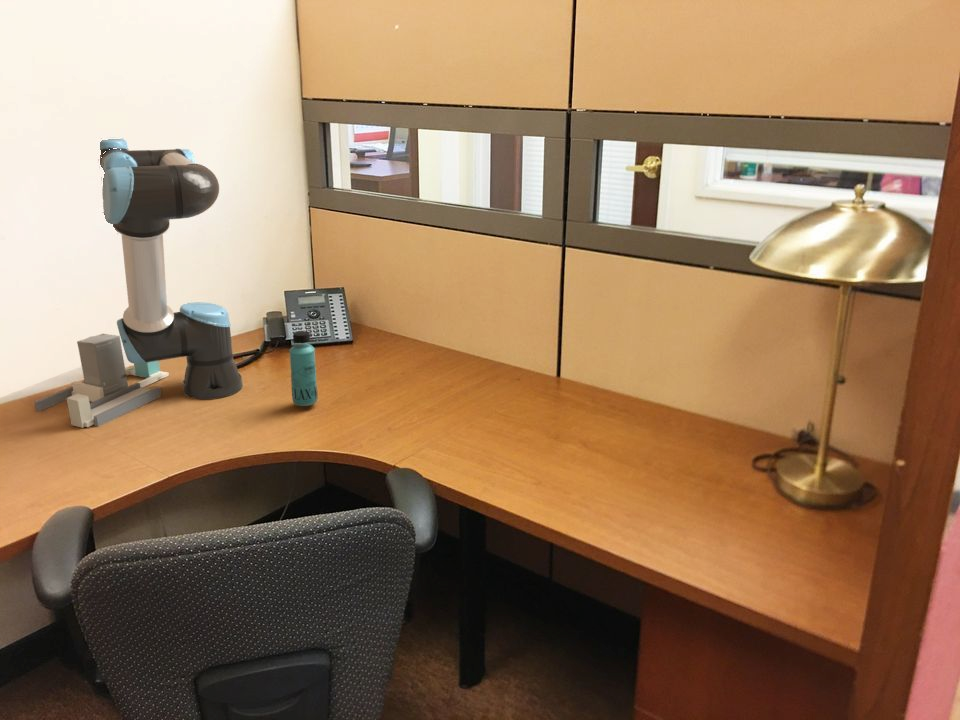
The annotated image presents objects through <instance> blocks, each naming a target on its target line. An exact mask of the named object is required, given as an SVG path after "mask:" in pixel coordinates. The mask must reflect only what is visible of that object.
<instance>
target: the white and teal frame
mask: <svg viewBox="0 0 960 720" xmlns="http://www.w3.org/2000/svg"><path fill="white" fill-rule="evenodd" d="M133 365H134V366H129V367H127V368H125V371H126V376H128V375H132V376H135V377H141V378H145V379H143V380H140V381H139V382H137V383H140V387H142V388H145V387H147V386H149V385H151V384H153V383H155V382H157V381H160V380H162V379H165V378H166V377H168V376H170V375H169V374H170V373H169V372H167V371H162V370H161V369H160V361H154V362H149V363H137V364H134V363H133ZM81 382H82V381H72V382H71V386H73V391H72V392H71V393H72V396H73V395H75V394H81V395H85V396H88V397H89V402H90V403H92V402H94V401H96V400H98V399H101V398H103V397H104V392H103V387H98V386H94V385H90V384H85V383H81Z"/></svg>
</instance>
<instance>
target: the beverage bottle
mask: <svg viewBox="0 0 960 720" xmlns="http://www.w3.org/2000/svg"><path fill="white" fill-rule="evenodd" d="M292 336H293V337H292V340H293V343H295V344H294V345H293V346H291V347H290V348H289V359H290V360H289V361H290V363H289V364H290V385H291V397H292V399H291V400H292V402H293V404H294V405H296V406H300V407H304V406H312V405H314V404H316V403H317V401H318V398H319V397H318V391H319V390H318V384H317V368H316V367H317V364H316V354H315V353H316V352H315V351H316V348H315V347H314V346H313V345H312V344H310V343H309V342H310V341H311V337H310V333H309V331H306V330H299V331H296V332H293V335H292Z"/></svg>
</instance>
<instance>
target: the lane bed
mask: <svg viewBox="0 0 960 720" xmlns="http://www.w3.org/2000/svg"><path fill="white" fill-rule="evenodd" d="M80 382H81V383H85V381H84V380H83V381H80ZM138 388H140V383H138V382H135V383H132V384H131V385H128V387H126V388H123V389H121V390H119V391H117V392H114V393H112V394H110V395H107V396H105V397H103V398H101V399H98V400H96V401H94V402H89V403H90V408H91V409H93V408H96V407H98V406H100V405H102V404H105V403H107V402H109V401H111V400H113V399H116V398H118V397H120V396H122V395H125V394H127V393H129V392H131V391H133V390H136V389H138ZM72 391H73V386H72V385H71V386H69V387H66V388H64V389H62V390H59V391H57V392H54V393H52V394H49V395H47V396H45V397H42V398H39V399H37V400H35V401H34V407H35V411H36V412H42V411H44V410H47V409H49V408H50V407H52V406H56V405H57V404H60V403H62V402H65V401H67V398H68V397H70V396H72V393H71V392H72ZM161 392H162V391H161V388H160V387H159V386H156V387H154V388H152V389H151V390H150V391H147V392H145V393H143V394H141V395H139V396H137V397H134V398H132V399H130V400H128V401H126V402H124V403H121V404H119V405H117V406H115V407H113V408H111V409H108V410H106V411H104V412H102V413H100V414H97V415H95V416H94V421H95V424H94V426H95V427H101V426H103V425H104V424H107V423H109V422H111V421H113V420H115V419H117V418H119V417H121V416H123V415H125V414H128V413H130V412H131V411H134V410H135V409H138V408H140V407H142V406H144V405H146V404H148V403H151V402H153V401H155V400H156V399H158V398H161V397H162V393H161Z"/></svg>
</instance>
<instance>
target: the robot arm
mask: <svg viewBox="0 0 960 720" xmlns="http://www.w3.org/2000/svg"><path fill="white" fill-rule="evenodd" d="M113 148H117V149H113ZM109 149H110V150H109ZM120 149H121V150H120ZM100 150H101V155H100V165H101V167H102V168H103V170H104V172H105V174H104V178H103V186H102V188H101V189H102V190H101V191H102V192H101V193H102V196H101V197H102V208H103V213H104V215H105V219H106V221H107V222H108V223H110V224H113V227H114V228H115V230H116V231H117V232H118V233H119V234H120V235H121V243H122V253H123V261H124V262H123V263H124V272H125V281H126V282H125V284H126V292H127V303H128V307H127V308H126V309H125V310H124V311H123V314H122V318H119V319H117V321H116V325H117V329H118V333H119V336H120V341H121V345H122V348H123V350H124V353H125V357H126V360H127V361H128V362H129V363H131V364H133V365H134V364H137V363H149V362H154V361H159V362H160V361H165V360H171V359H178V358H185V357H186V368H185V372H184V380H182V381H183V382H182V391H183V394H184V395H185V396H187V397H189V398H192V399H196V400H197V399H198V400H213V399H214V400H215V399H220V398H225V397H228V396H231V395H234V394H236V393H238V392H240V390H242V388H243V387H244V386H243V377H242V375H241V374H240V373H239V370H238V366H237V364H236V362H235V360H234V353H233V345H232V334H231V321H230V317H229V312H228V310H227V309H226V308H225V307H223V306H222V305H219V304H216V303H211V302H189V303H188V302H187V303H183V304H182V305H180V308H179V311H178V312H177V311H176V312H174V310H173V309H172V308H171V306H169V305H168V301H167V285H166V283H167V282H166V269H165V268H166V267H165V249H164V234H165V233H167V231H168V230H169V228H170V220H180V219H182V220H183V219H188V218H189V219H190V218H193V217H197V216H199V215H200V214H203V213H205V212H206V211H207V210H209V209H210V208H211V207H212V206H213V205H214V204H215V203H216V201H217V199H218V197H219V193H220V184H219V180H218V178H217V176H216V175H215V173H214V172H213V171H212V170H211V169H209V168H208V167H207V166H204V165H202V164H200V163H196V160H195V157H194V155H193V152H192V150H190V149H186V148H175V149H152V150H151V149H147V150H146V149H144V150H142V149H141V150H138V149H137V150H129V146H128V142H127V140H126V139H124V138H121V139H108V140H102V141H101V142H100ZM105 151H106V152H105ZM104 152H105V153H104ZM103 153H104V154H103ZM101 157H102V158H101Z"/></svg>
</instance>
